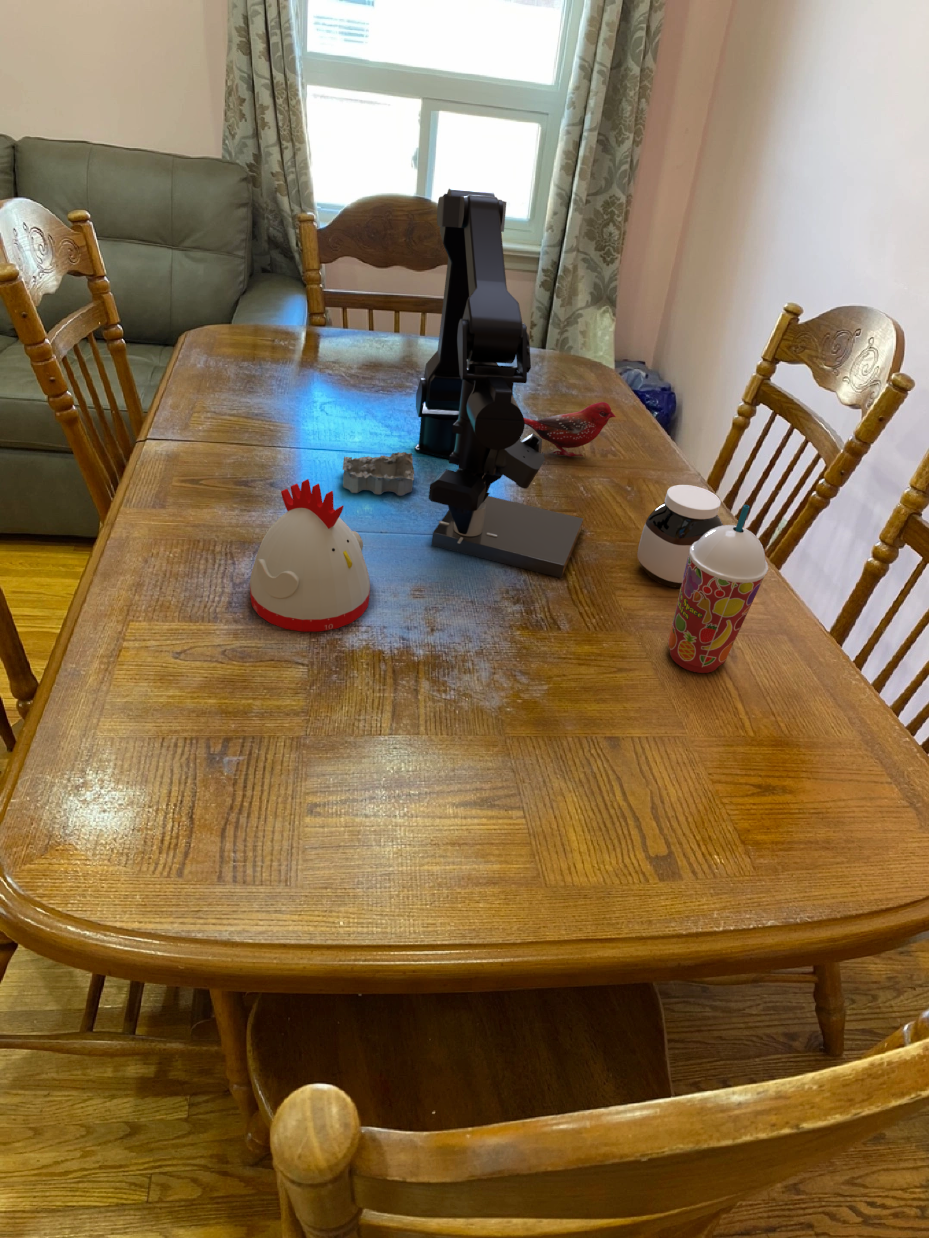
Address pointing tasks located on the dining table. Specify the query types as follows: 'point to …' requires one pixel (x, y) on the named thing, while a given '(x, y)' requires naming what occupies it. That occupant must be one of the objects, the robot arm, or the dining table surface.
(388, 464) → the egg carton
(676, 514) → the spread jar
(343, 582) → the kitchen timer
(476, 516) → the stove knob
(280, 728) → the dining table surface
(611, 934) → the dining table surface
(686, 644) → the smoothie
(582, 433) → the decorative bird figurine
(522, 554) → the stove
